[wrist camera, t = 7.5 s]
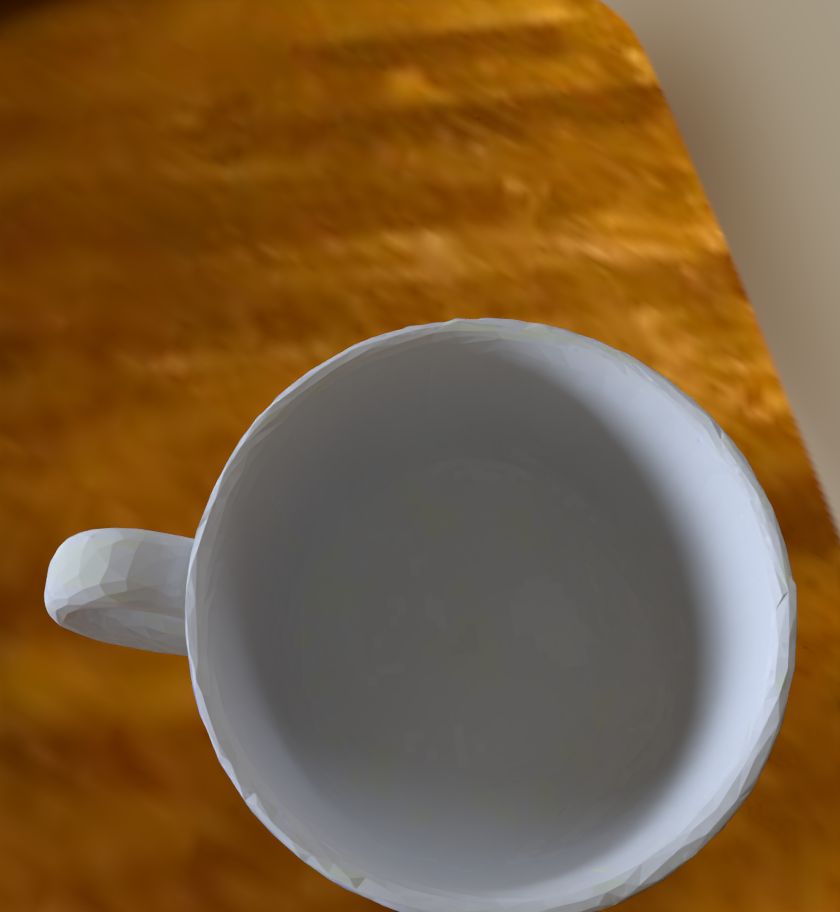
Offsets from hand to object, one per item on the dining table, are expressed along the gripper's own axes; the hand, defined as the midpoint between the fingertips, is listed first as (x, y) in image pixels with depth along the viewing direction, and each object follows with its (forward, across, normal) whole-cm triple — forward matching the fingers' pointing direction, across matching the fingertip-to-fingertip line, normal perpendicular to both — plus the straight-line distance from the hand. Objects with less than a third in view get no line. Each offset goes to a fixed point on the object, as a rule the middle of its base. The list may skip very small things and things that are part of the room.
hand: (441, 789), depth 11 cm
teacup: (+10, 0, -4) cm, 11 cm away
